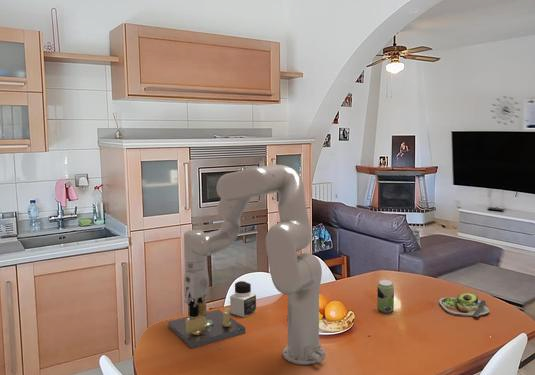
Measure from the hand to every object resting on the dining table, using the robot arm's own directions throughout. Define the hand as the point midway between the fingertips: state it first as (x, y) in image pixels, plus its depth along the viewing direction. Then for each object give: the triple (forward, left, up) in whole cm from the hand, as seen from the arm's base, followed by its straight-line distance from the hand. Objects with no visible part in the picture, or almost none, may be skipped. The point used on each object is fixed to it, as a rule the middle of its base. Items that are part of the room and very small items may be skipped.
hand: (196, 314), depth 166 cm
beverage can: (-31, -64, -4) cm, 71 cm away
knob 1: (-12, +6, -1) cm, 13 cm away
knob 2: (-12, -6, -1) cm, 13 cm away
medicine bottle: (-1, -19, -4) cm, 19 cm away
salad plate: (-46, -91, -4) cm, 102 cm away
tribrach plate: (-7, 0, -4) cm, 8 cm away
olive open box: (0, 0, -1) cm, 1 cm away
